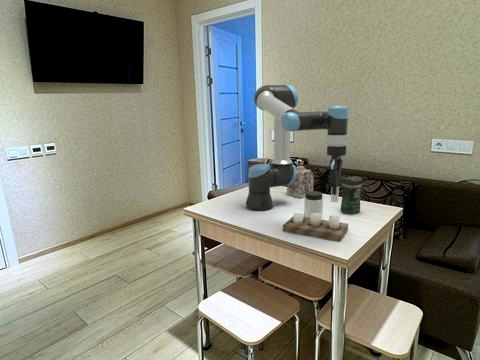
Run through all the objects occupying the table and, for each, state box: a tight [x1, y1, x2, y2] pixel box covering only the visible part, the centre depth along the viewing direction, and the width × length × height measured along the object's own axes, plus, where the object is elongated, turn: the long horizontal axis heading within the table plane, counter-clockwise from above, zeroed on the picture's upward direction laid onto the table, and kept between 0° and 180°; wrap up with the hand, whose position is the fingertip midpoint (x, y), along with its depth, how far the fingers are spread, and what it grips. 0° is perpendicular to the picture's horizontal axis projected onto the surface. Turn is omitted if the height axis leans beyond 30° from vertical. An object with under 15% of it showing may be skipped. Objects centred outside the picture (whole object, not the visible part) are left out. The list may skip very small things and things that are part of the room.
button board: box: [282, 216, 349, 243], centre depth 140 cm, size 25×14×3 cm, turn 60°
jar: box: [303, 190, 324, 218], centre depth 158 cm, size 9×8×12 cm
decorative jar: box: [286, 165, 315, 199], centre depth 195 cm, size 12×12×18 cm
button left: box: [292, 213, 304, 224], centre depth 144 cm, size 4×4×5 cm
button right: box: [328, 214, 341, 230], centre depth 135 cm, size 4×4×5 cm
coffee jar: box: [340, 175, 363, 215], centre depth 162 cm, size 10×8×19 cm
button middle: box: [310, 213, 322, 227], centre depth 139 cm, size 4×4×5 cm
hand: (334, 201), depth 133 cm, fingers closed
